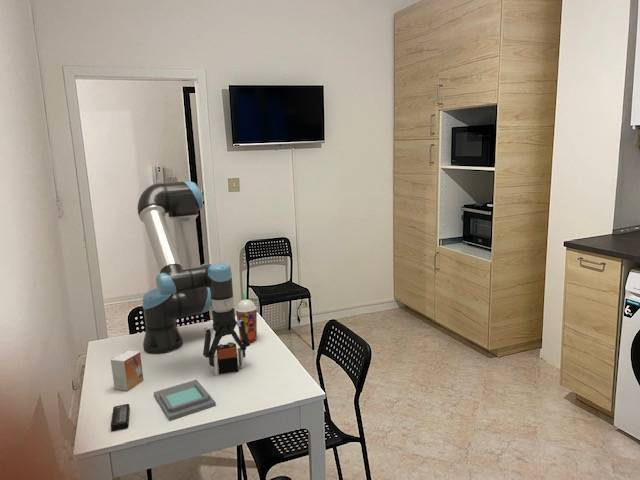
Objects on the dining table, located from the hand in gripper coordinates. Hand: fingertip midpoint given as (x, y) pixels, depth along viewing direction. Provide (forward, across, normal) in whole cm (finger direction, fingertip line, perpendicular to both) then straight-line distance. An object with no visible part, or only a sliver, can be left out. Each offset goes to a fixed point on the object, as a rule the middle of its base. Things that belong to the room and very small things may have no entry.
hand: (228, 370), depth 168 cm
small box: (0, -31, +11) cm, 33 cm away
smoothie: (0, +17, +21) cm, 27 cm away
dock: (0, -19, -11) cm, 22 cm away
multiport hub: (+1, -38, -11) cm, 39 cm away
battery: (0, 0, 0) cm, 1 cm away
